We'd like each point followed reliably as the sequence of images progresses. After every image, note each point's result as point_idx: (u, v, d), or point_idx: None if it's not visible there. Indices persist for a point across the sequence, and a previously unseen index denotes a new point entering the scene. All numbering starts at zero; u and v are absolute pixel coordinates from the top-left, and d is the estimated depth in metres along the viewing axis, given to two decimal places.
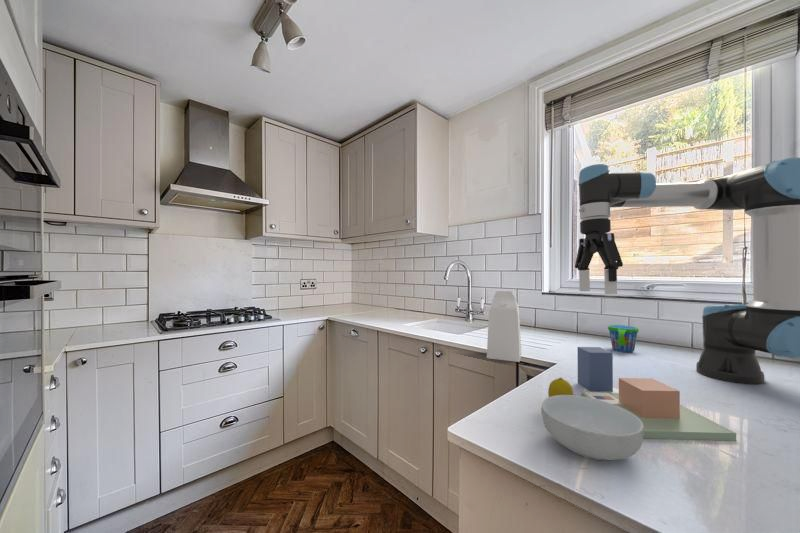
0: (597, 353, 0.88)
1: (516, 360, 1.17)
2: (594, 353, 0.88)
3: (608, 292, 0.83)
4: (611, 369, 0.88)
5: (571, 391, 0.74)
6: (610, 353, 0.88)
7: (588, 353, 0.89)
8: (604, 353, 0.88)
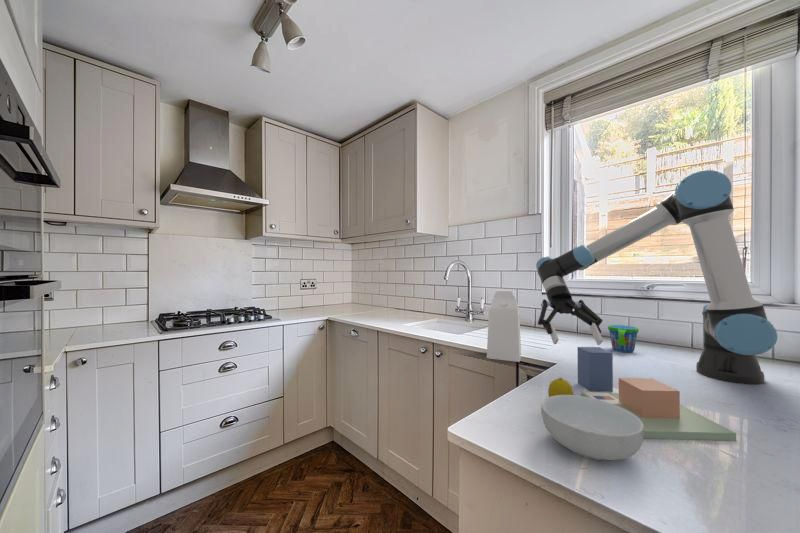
0: (597, 353, 0.88)
1: (516, 360, 1.17)
2: (594, 353, 0.88)
3: (553, 342, 1.00)
4: (611, 369, 0.88)
5: (571, 391, 0.74)
6: (610, 353, 0.88)
7: (588, 353, 0.89)
8: (604, 353, 0.88)
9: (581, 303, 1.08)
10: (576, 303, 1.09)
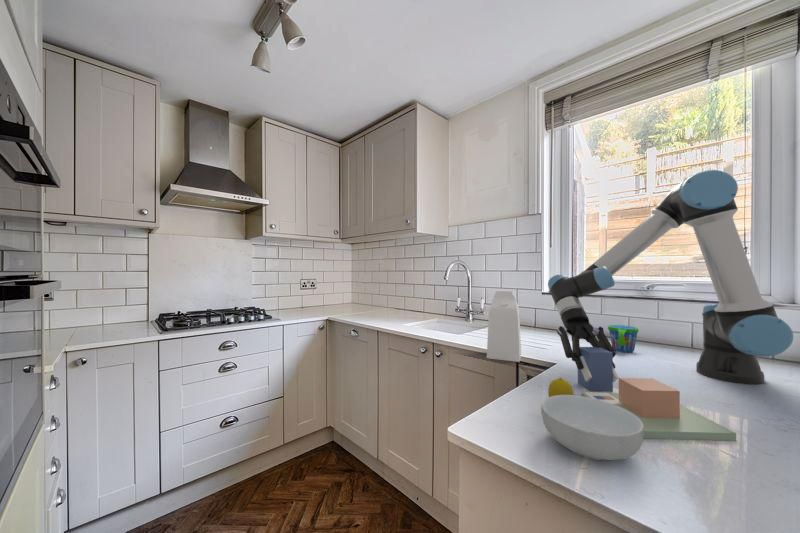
0: (597, 353, 0.88)
1: (516, 360, 1.17)
2: (594, 353, 0.88)
3: (585, 379, 0.89)
4: (611, 369, 0.88)
5: (571, 391, 0.74)
6: (610, 353, 0.88)
7: (588, 353, 0.89)
8: (604, 353, 0.88)
9: (600, 330, 0.98)
10: (595, 329, 0.99)
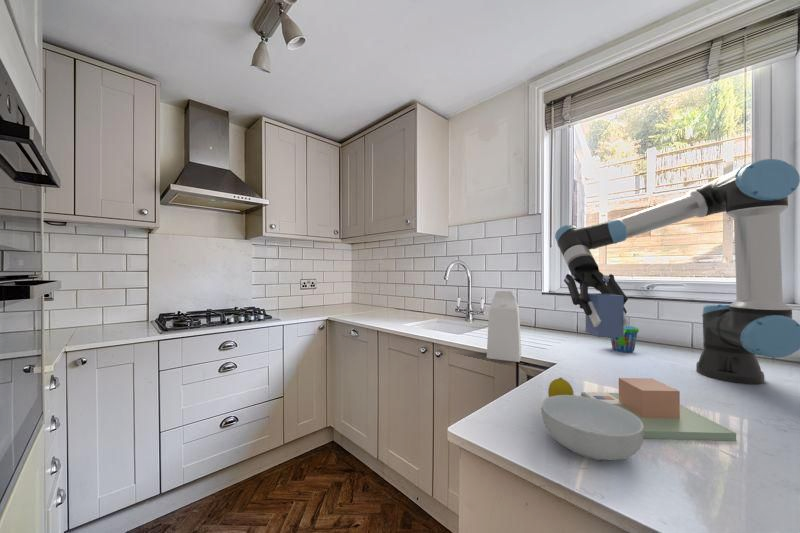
0: (607, 296, 0.82)
1: (516, 360, 1.17)
2: (603, 296, 0.82)
3: (594, 324, 0.83)
4: (622, 313, 0.82)
5: (571, 391, 0.74)
6: (621, 296, 0.82)
7: (597, 297, 0.83)
8: (614, 296, 0.82)
9: (610, 277, 0.91)
10: (605, 277, 0.93)
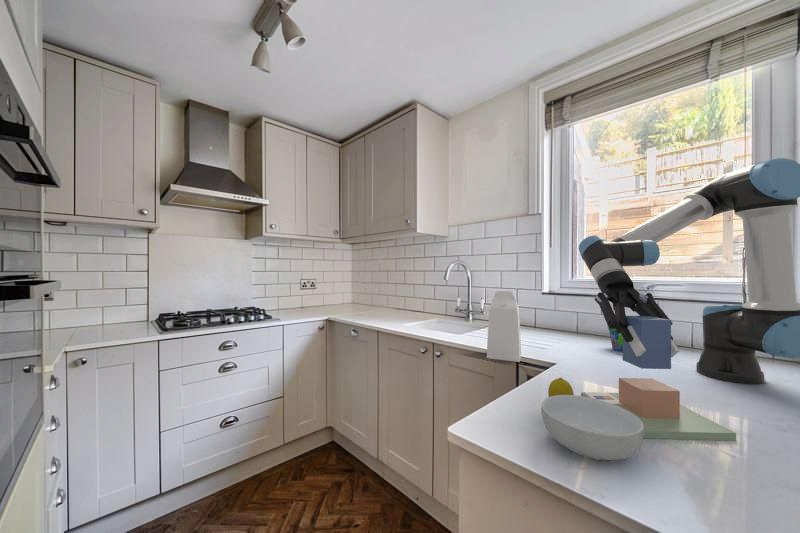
0: (651, 321, 0.70)
1: (516, 360, 1.17)
2: (648, 321, 0.70)
3: (636, 353, 0.71)
4: (669, 341, 0.70)
5: (571, 391, 0.74)
6: (668, 321, 0.70)
7: (640, 321, 0.71)
8: (660, 321, 0.70)
9: (648, 297, 0.80)
10: (642, 296, 0.81)
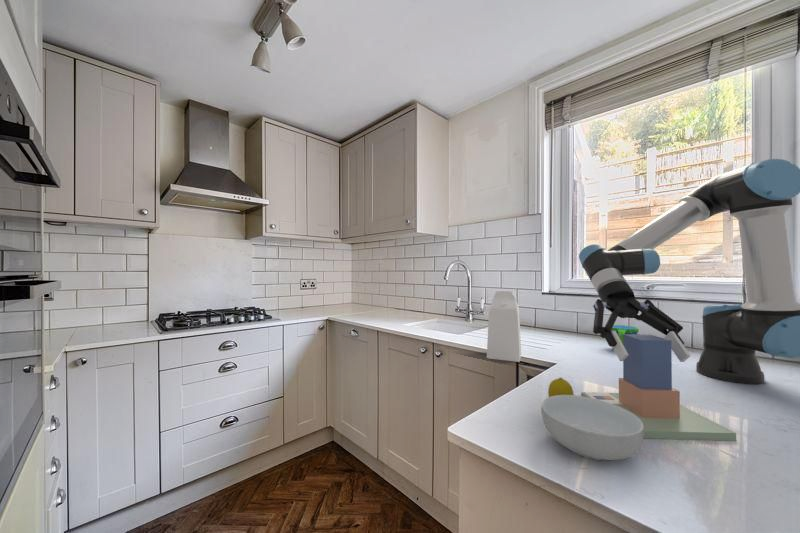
0: (652, 341, 0.70)
1: (516, 360, 1.17)
2: (648, 341, 0.70)
3: (620, 358, 0.72)
4: (670, 361, 0.70)
5: (571, 391, 0.74)
6: (668, 341, 0.70)
7: (640, 341, 0.71)
8: (661, 341, 0.70)
9: (649, 304, 0.80)
10: (642, 304, 0.81)
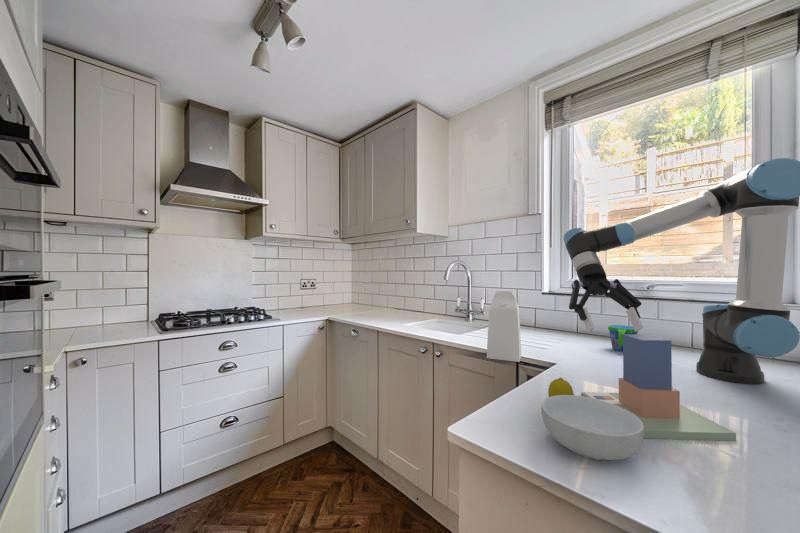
0: (652, 341, 0.70)
1: (516, 360, 1.17)
2: (648, 341, 0.70)
3: (587, 330, 0.90)
4: (670, 361, 0.70)
5: (571, 391, 0.74)
6: (668, 341, 0.70)
7: (640, 341, 0.71)
8: (661, 341, 0.70)
9: (617, 283, 0.96)
10: (611, 283, 0.97)
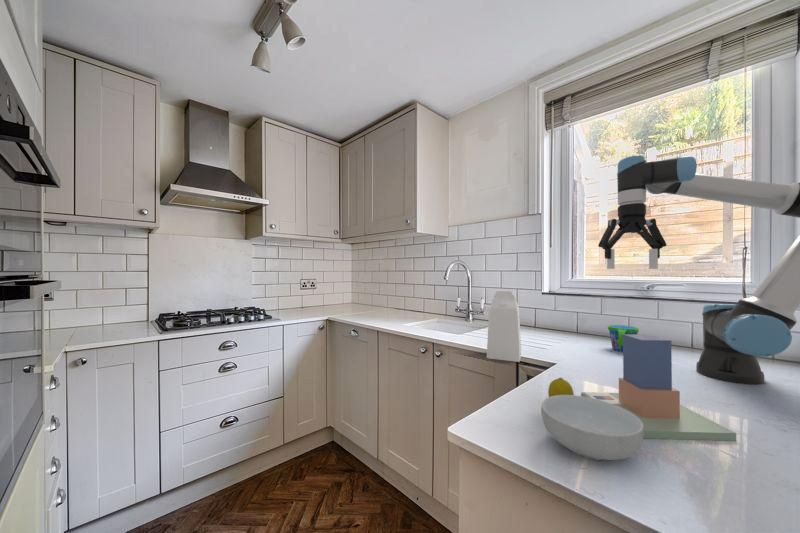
0: (652, 341, 0.70)
1: (516, 360, 1.17)
2: (648, 341, 0.70)
3: (608, 267, 1.04)
4: (670, 361, 0.70)
5: (571, 391, 0.74)
6: (668, 341, 0.70)
7: (640, 341, 0.71)
8: (661, 341, 0.70)
9: (652, 223, 1.01)
10: (647, 222, 1.02)
